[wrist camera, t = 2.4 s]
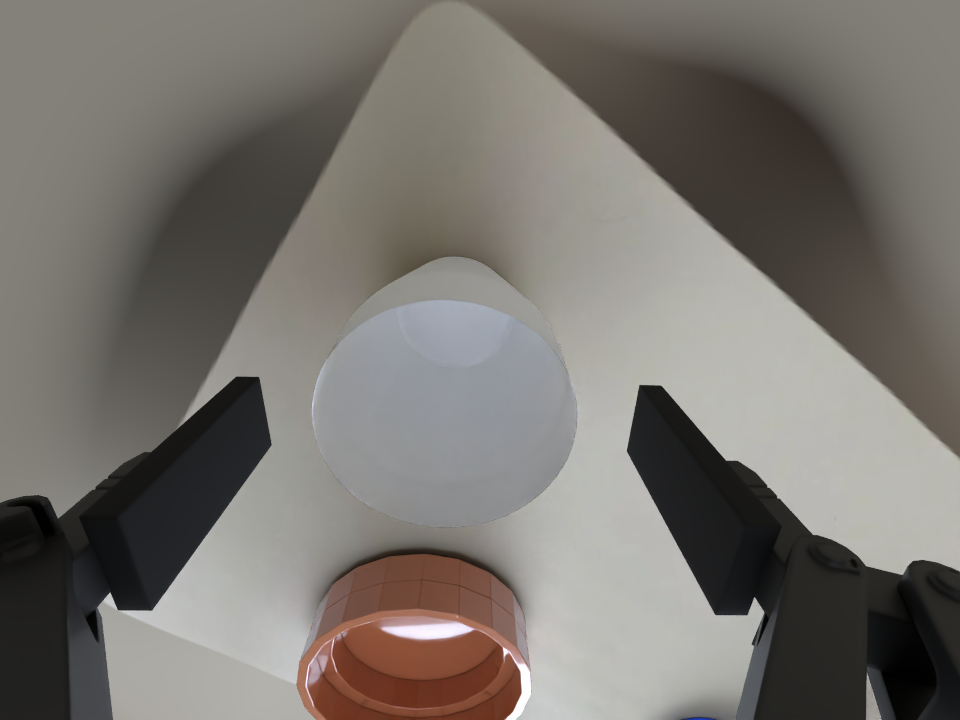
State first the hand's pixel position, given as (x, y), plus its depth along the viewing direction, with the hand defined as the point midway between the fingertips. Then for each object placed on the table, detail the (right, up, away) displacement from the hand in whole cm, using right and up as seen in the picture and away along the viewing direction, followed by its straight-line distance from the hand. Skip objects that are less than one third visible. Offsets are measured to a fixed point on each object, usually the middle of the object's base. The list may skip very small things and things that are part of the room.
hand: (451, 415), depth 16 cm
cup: (0, +5, +10) cm, 11 cm away
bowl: (-4, -19, +20) cm, 28 cm away
